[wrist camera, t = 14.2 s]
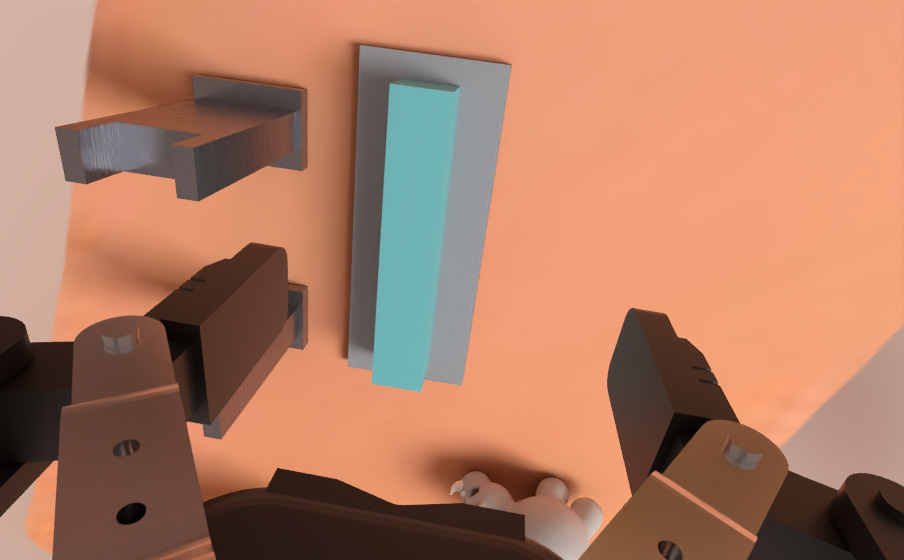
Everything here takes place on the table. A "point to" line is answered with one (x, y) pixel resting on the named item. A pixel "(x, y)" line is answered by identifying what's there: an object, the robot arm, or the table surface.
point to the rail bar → (412, 227)
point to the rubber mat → (465, 199)
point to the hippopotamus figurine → (539, 512)
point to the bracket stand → (205, 170)
